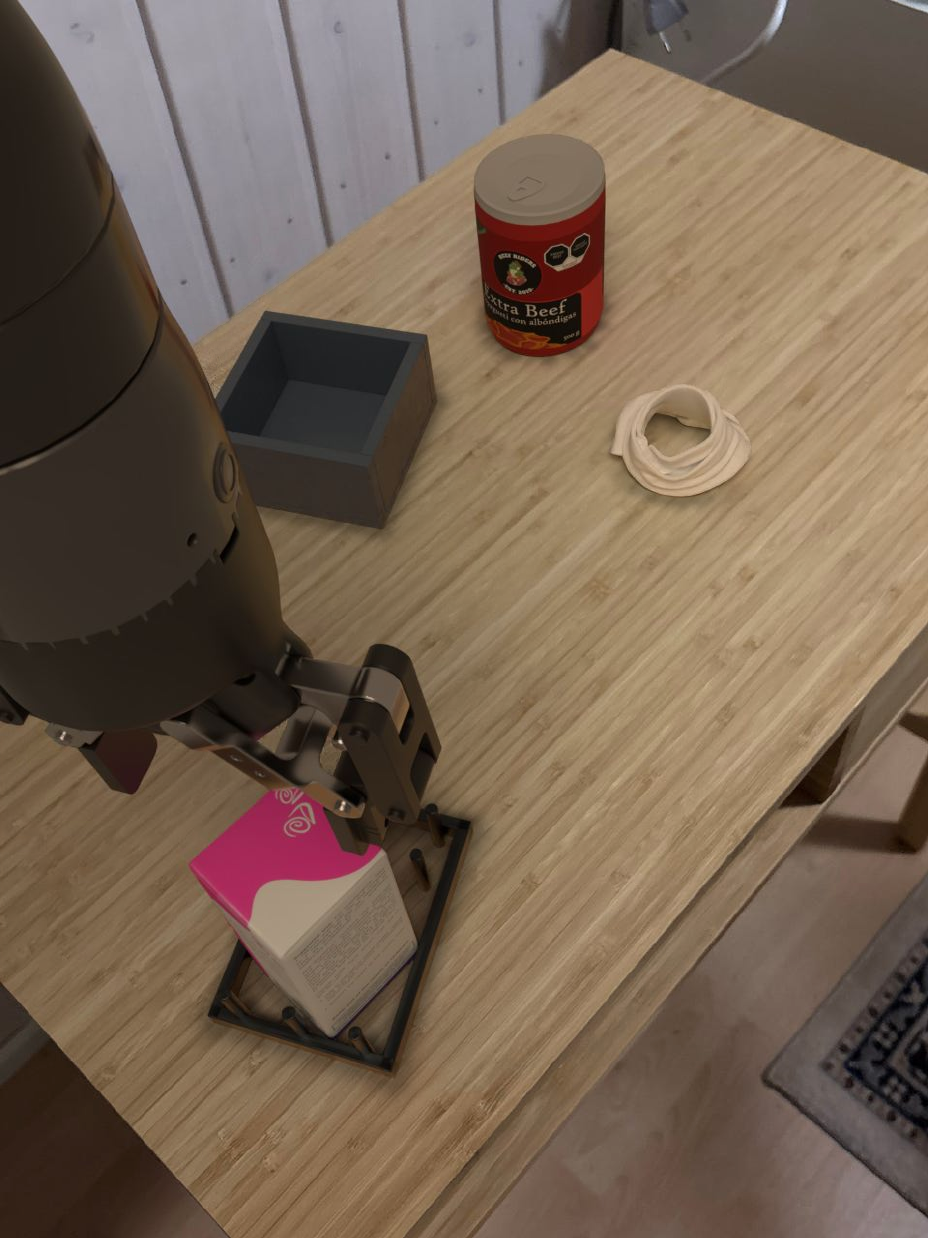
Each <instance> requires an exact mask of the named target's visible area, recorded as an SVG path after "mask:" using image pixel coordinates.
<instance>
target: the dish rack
mask: <svg viewBox="0 0 928 1238" xmlns="http://www.w3.org/2000/svg"><path fill="white" fill-rule="evenodd" d="M399 824H400V825H404V826H409V827H412V828H415V829H420V830H424V831H427V832H430V833H431V837H432V840H433V843H434V846H435V847H436V848H444V847H445V846H446V844H447V837H451V838H452V841H451V845H450V847H449V850H448V854H447V857H446V859H445V863H444V865H443V869H442V872H441V875H440V878H439V881H438V885H437V887H436V890H435V894H434V897H433V900H432V903H431V906H430V909H429V911H428V915H427V918H426V921H425V924H424V927H423V930H422V933H421V936H420V939H419V942H418V948H417V952H416V955H415V957H414V958H413V960H412V964H411V967H410V970H409V973H408V976H407V978H406V983H405V986H404V989H403V991H402V995H401V998H400V1001H399V1004H398V1007H397V1010H396V1013H395V1016H394V1019H393V1022H392V1025H391V1029H390V1031H389V1035H388V1038H387V1040H386V1044H385V1047H384V1050H383V1053H382V1054H381V1053H377V1052H376V1050H375V1049H374V1047H373V1046H372V1044H371V1042H370V1041H369V1039H368V1038H367V1036H366V1035H365V1033H364V1032H363V1030H362V1028H361V1027H359V1026H358V1025H353V1026H351V1027H350V1028H349V1029H348V1031H347V1037H348V1039H349V1040H350V1042H351V1043H352V1044H348V1043H345V1042H341V1041H339V1040H332V1039H329V1038H327V1037H326V1036H322V1035H318V1034H316V1033H314V1032H313V1031H312V1030H311V1028H310V1027H309V1026H308V1024H307V1023H306V1022H305V1020H304V1019H303V1017H301V1015H300V1014H299V1012H298V1010H296V1008H295V1007H294V1006H291V1005H287V1006H284V1007H283V1009H282V1010H281V1018H282V1019H283V1020H284V1021H285V1022H286V1024H287V1025H286V1024H283V1023H281V1022H276V1021H274V1020H270V1019H266V1018H263V1017H259V1016H256V1015H253V1013H252V1012H251V1011H250V1010H249V1009H248V1007H247V1006H246V1005H245V1004H244V1003H243V1002H242V1001H241V1000H240V998H239V997H238V994H239V992H240V989H241V988H242V985H243V983H244V980H245V978H246V975H247V973H248V970H249V967H250V965H251V962H252V960H253V958H252V956H251V955H250V953H249V952H248V950H247V949H246V948H245V946H244V945H243V944H242V942H241V941H240V939H239V938H238V939H237V942H236V944H235V947H234V949H233V951H232V953H231V956H230V959H229V961H228V964H227V966H226V968H225V971H224V973H223V976H222V978H221V981H220V983H219V985H218V988H217V989H216V992H215V995H214V997H213V999H212V1003H211V1004H210V1007H209V1009H208V1012H207V1017H208V1018H209V1019H210V1020H211V1021H212V1022H213V1023H214V1024H217V1025H221V1026H224V1027H227V1028H230V1029H233V1030H236V1031H240V1032H243V1033H247V1034H250V1035H254V1036H257V1037H260V1038H263V1039H266V1040H270V1041H272V1042H275V1043H278V1044H282V1045H285V1046H288V1047H291V1048H295V1049H299V1050H301V1051H305V1052H308V1053H312V1054H315V1055H318V1056H321V1057H324V1058H328V1059H331V1060H334V1061H337V1062H340V1063H344V1064H347V1065H350V1066H353V1067H357V1068H360V1069H364V1070H366V1071H369V1072H373V1073H376V1074H378V1075H379V1074H380V1075H382V1076H386V1077H389V1078H392V1079H395V1078H396V1076H397V1072H398V1070H399V1066H400V1063H401V1060H402V1057H403V1054H404V1051H405V1048H406V1044H407V1041H408V1039H409V1035H410V1032H411V1029H412V1026H413V1022H414V1020H415V1016H416V1013H417V1010H418V1006H419V1003H420V1000H421V998H422V994H423V991H424V988H425V986H426V982H427V978H428V975H429V973H430V970H431V966H432V962H433V960H434V957H435V953H436V950H437V947H438V944H439V941H440V938H441V935H442V931H443V929H444V925H445V922H446V918H447V915H448V912H449V909H450V906H451V903H452V899H453V897H454V893H455V890H456V887H457V884H458V880H459V878H460V875H461V871H462V868H463V865H464V861H465V860H466V855H467V852H468V849H469V847H470V843H471V840H472V837H473V834H474V827H473V822H472V820H468V819H465V818H459V817H455V816H452V815H448V814H444V813H440V810H439V807H438V805H437V804H436V803H433V802H429V803H428V804H426V806H425V808H424V809H423V808H421V809H420V812H419V815H418V818H417V821H416V823H414V824H402V823H399ZM389 828H390V824H389V825H388V828H387V831H389ZM446 836H447V837H446ZM409 860H410V863H411V865H412V868H413V871H414V874H415V878H416V881H417V884H418V885H419V889H420V890H421V891H422V892H425V893H426V892H427V893H428V892H429V891H430V890H431V889H432V887H433V883H432V879H431V876H430V874H429V870H428V866H427V864H426V863H427V862H426V860H425V857H424V853H423V851H422V850H421V849H420V848H418V847H417V848H413V849H411V850H410V852H409Z"/></svg>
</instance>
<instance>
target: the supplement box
mask: <svg viewBox="0 0 928 1238" xmlns="http://www.w3.org/2000/svg"><path fill="white" fill-rule="evenodd" d="M323 807H324V806H323V805H321V804H320V803H318V802H317V801H315V800H314V799H312V798H311V797H309V796H308V795H306V794H305V793H303V792H302V791H300V790H299V789H297V788H296V789H288V790H280V791H272V790H269V789H268V791H267V792H266V793H264V795H263V796H262V797H261V798H259V800H258V801H256V802H255V803H254V805H252V806H251V807H250V808H249V809H247V811H246V812H245V813H244V814H242V815H241V816H240V817H238V819H237V820H236V821H235V822H234V823H232V824H231V825H230V826H229V827H228V828H226V829H225V830H224V831H223V832H222V833H221V834H219V836H217V838H215V839H214V840H213V841H212V842H211V843H210V844H209V845H207V846H206V847H205V848H204V849H203V850H202V851H200V853H198V854H197V855H196V856H195V857H193V859H192V860H190V861H189V862H188V867H189V869H190V870H191V872H192V873H193V875H194V876H195V878H196V879H197V881H198V882H199V884H200V886H201V887H202V888H203V889H204V891H205V892H206V894H207V895H208V896H209V898H210V899H211V901H212V902H213V903H214V905H215V906H216V908H217V909H218V910H219V912H220V913H221V914H222V916H223V917H224V919H225V921H226V922H227V923H228V925H229V926H230V927H231V929H232V931H233V932H234V934H235V935H236V936H237V938H238V939H240V941H241V942H242V944H243V945H244V946H245V948H246V949H247V950H248V952H249V953H250V955H251V956H252V960H253V961H254V963H255V964H256V965H257V967H258V968H259V969H260V970H261V971H262V972H263V973H264V975H265V976H266V977H267V978H268V979H269V980H270V981H271V983H273V984H274V985H275V987H277V988H278V990H279V991H280V992H282V993H283V995H284V996H285V997H286V998H287V999H288V1000H289V1001H290V1002H291V1003H292V1004H293V1005H294V1007H296V1008H297V1009H298V1010H299V1011H300V1012H301V1013H302V1014H303V1015H304V1016H305V1017H306V1018H307V1019H308V1020H309V1021H310V1022H311V1024H312V1025H314V1026H315V1028H317V1030H319V1031H320V1032H321V1033H322V1034H323V1035H324V1037H326V1038H329V1039H332V1040H335V1041H337V1039H338V1038H339V1037H340V1036H341V1035H342V1034H343V1033H344V1032H345V1031H346V1030H347V1029H348V1028H349V1026H351V1025H352V1024H353V1023H354V1021H355V1020H356V1019H357V1018H358V1017H359V1016H360V1015H361V1014H362V1013H363V1012H364V1010H366V1009H367V1007H368V1006H370V1004H371V1003H372V1002H373V1001H374V1000H375V999H376V998H377V997H378V996H379V995H380V994H381V993H382V992H383V991H384V990H385V989H386V988H387V987H388V985H390V983H392V982H393V981H394V980H395V979H396V978H397V977H398V975H399V974H401V973H402V971H403V970H404V969H405V968H406V967H407V966H408V965H409V964H410V963H411V962H413V960H414V958H415V955H416V952H417V948H418V945H419V942H418V940H417V938H416V935H415V931H414V929H413V925H412V923H411V920H410V917H409V914H408V912H407V909H406V906H405V903H404V900H403V897H402V895H401V892H400V888H399V885H398V883H397V881H396V878H395V877H396V876H395V874H394V872H393V869H392V866H391V862H390V860H389V857H388V854H387V851H385V849H384V848H382V846H381V845H380V846H376V845H372V844H370V845H369V847H368V850H367V852H366V854H365V855H364V856H360V855H356V854H352V853H348V852H344V851H342V850H341V848H340V845H339V843H338V841H337V839H336V837H335V835H334V833H333V831H332V829H331V826H330V824H329V822H328V820H327V818H326V816H325V814H324V812H323Z"/></svg>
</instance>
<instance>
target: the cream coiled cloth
mask: <svg viewBox="0 0 928 1238" xmlns="http://www.w3.org/2000/svg"><path fill="white" fill-rule="evenodd" d="M655 414H659V415H665V416H670V417H673V418H676V419H677V420H678V421H679V422H680V423H681V424H682V425H684V426H687V427H693V428H700V429H705V430H710V434H709V435H708V437H707V438H706V439H705V440H703V441H701V442H700V443H698V444H696V445H694V446H692V447H690V448H688V449H686V450H684V451H682V452H680V453H678V454H676V455H673V456H667V455H664V454H663V453H662V452H661V451H660V450H659V449H658V448H657V447H656V446H655V445H654V444H651V443H650V444H649V445H648V443H649V442H648V439H647V437H646V436H645V433H646V432H645V431H646V428H647V426H648V423H649V422H650V420H651V419H652V417H653V416H654V415H655ZM609 453H610V454H612V455H614V456H617V457H622V460H623V462H624V465H625V466H626V468H627V470H628V472H629V473H630V474H631V476H632V477H633V478H634V479H635V480H636V481H637V482H638V483H639V484H640V485H641V486H643V488H646V489H647V490H649V491H652V492H654V493H657V494H660V495H663V496H670V497H691V496H696V495H698V494H702V493H705V492H707V491H709V490H712V489H714V488H717V487H718V486H720V485H722V484H724V483H725V482H727V481H729V480H730V479H731V478H733V477H734V476H735V475H736V474H738V472H739V471H740V470H741V469H742V468H743V467H744V465H745V464H746V463H747V462H748V460H749V458H750V456H751V453H752V442H751V441H750V438H749V435H748V434H747V432H746V431H745V430H744V429H743V427H742V424H741V422H740V420H739V419H738V418H737V417H736V416H734V415H733V414H732V413H730V412H729V411H727V410H726V409H724V408H722V405H721V403H720V402H719V400H718V398H717V397H716V396H715V395H714V394H713V393H712V392H710V391H708V390H707V389H704V388H700V387H699V386H696V385H693V384H689V383H677V384H670V385H668V386H665V387H662V388H660V389H659V390H652V391H647V392H645V393H642V394H639V395H637V396H635V397H634V398H631V399H630V400H628V401H627V402H626V404H625V405H624V406H623V408H622V410H621V411H620V413H619V414H618V417H617V419H616V422H615V433H614V438H613V440H612V443H611V446H610V450H609Z"/></svg>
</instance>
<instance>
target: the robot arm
mask: <svg viewBox="0 0 928 1238" xmlns="http://www.w3.org/2000/svg"><path fill="white" fill-rule="evenodd" d="M75 89H76V88H75V87H74V85H73V84H72V82H71V80H70V78H69V77H68V75H67V72H66V71H65V69H64V67H63V66H62V64H61V62H60V61H59V59H58V58H57V56H56V53H55V52H54V51H53V49H52V47H51V46H50V44H49V42H48V40H47V39H46V38H45V36H44V35H43V34H42V32H41V31H40V29H39V28H38V26H37V25H36V24H35V22H34V20H33V19H32V18H31V16H30V15H29V13H28V11H26V10H25V7H23V5H22V3H21V2H20V1H19V0H0V722H1V723H3V724H6V725H13V726H17V727H19V726H21V727H22V726H24V725H25V723H26V721H27V719H28V718H29V716H31V717H34V718H37V719H39V720H41V721H44V722H46V723H48V724H47V726H46V728H45V729H44V732H45V733H46V735H47V736H48V737H50V738H51V739H53V741H54V742H55V743H57V744H59V745H61V746H64V747H70V748H75V749H77V750H78V751H79V752H80V753H81V755H82V757H84V758H85V760H86V761H87V762H88V764H89V765H90V766H91V767H92V768H93V769H94V771H95V772H96V773H97V774H98V776H99V777H100V778H101V779H102V780H103V781H104V782H105V784H106V785H107V786H108V788H109V789H110V790H111V791H114V792H119V793H122V794H126V795H128V796H132V795H134V794H136V793H137V792H138V790H139V788H140V787H141V785H142V782H143V780H144V778H145V777H146V775H147V773H148V771H149V768H150V766H151V764H152V762H153V760H154V758H155V756H156V754H157V750H158V739H157V737H156V735H160V736H166V737H171V738H173V739H174V740H176V741H178V742H179V743H180V744H181V745H183V746H185V747H186V748H188V749H189V750H192V751H194V752H195V751H196V752H202V751H209V752H210V753H212V754H213V755H214V756H216V757H218V758H220V759H222V761H224V762H226V763H227V764H229V765H230V766H232V767H233V768H235V769H237V770H238V771H239V772H241V773H243V774H244V775H245V776H247V777H249V778H250V779H252V780H254V782H257V783H258V784H260V785H261V786H263V787H264V788H266V789H268V791H269V790H272V791H280V790H288V789H296V788H297V789H299V790H300V791H302V792H303V793H305V794H306V795H308V796H309V797H311V798H312V799H314V800H315V801H317V802H318V803H320V804H321V805H323V806H324V807H323V812H324V814H325V816H326V818H327V820H328V822H329V824H330V826H331V829H332V831H333V833H334V835H335V837H336V839H337V841H338V843H339V845H340V848H341V850H342V851H344V852H348V853H352V854H356V855H360V856H364V855H365V854H366V852H367V850H368V847H369V845H370V844H372V845H376V846H380V847H381V844H382V843H383V841H384V839H385V836H386V834H387V832H388V830H387V828H388V825H389V826H390V823H391V822H393V823H395V824H400V823H402V824H401V825H404V824H414V823H416V821H417V818H418V815H419V812H420V809H422V801H423V798H424V795H425V792H426V789H427V787H428V784H429V781H430V777H431V776H432V772H433V770H434V767H435V765H436V764H437V763H438V760H439V757H440V755H441V752H442V748H443V747H442V744H441V740H440V738H439V735H438V732H437V730H436V726H435V724H434V720H433V718H432V715H431V712H430V710H429V706H428V704H427V701H426V698H425V696H424V693H423V689H422V687H421V684H420V682H419V678H418V675H417V673H416V670H415V667H414V664H413V661H412V659H411V657H410V656H409V654H407V653H406V652H405V651H403V650H402V649H400V648H399V647H396V646H394V645H390V644H386V643H374V644H372V645H370V646H369V647H368V649H367V651H366V654H365V657H364V659H363V661H362V664H361V667H360V666H354V665H349V664H344V663H340V662H339V663H338V662H333V661H328V660H323V659H316V658H314V654H313V652H312V650H311V648H310V647H309V645H308V644H307V643H306V642H305V641H304V640H303V639H302V638H301V637H299V635H297V634H296V633H295V632H294V631H293V630H292V629H291V628H290V627H289V626H288V625H287V623H286V622H285V620H284V618H283V612H282V603H281V590H280V580H279V570H278V565H277V561H276V556H275V553H274V550H273V547H272V544H271V542H270V539H269V537H268V534H267V531H266V527H265V526H264V524H263V521H262V518H261V515H260V513H259V511H258V508H257V505H255V502H254V500H253V497H252V495H251V492H250V490H249V487H248V484H247V482H246V479H245V476H244V474H243V471H242V468H241V466H240V463H239V461H238V458H237V455H236V453H235V450H234V448H233V445H232V442H231V440H230V437H229V435H228V432H227V429H226V427H225V424H224V422H223V419H222V416H221V414H220V411H219V409H218V406H217V403H216V401H215V398H216V397H215V396H214V394H213V390H212V388H211V386H210V383H209V381H208V378H207V376H206V375H205V372H204V369H203V367H202V364H201V363H200V360H199V358H198V356H197V353H196V352H195V350H194V347H193V346H192V344H191V342H190V341H189V339H188V337H187V335H186V333H185V332H184V330H183V329H182V328H181V326H180V324H179V323H178V320H177V319H176V317H175V316H174V315H173V313H172V311H171V309H170V307H169V306H168V304H167V302H166V300H165V299H164V297H163V295H162V293H161V290H160V289H159V285H158V284H157V281H156V279H155V276H154V273H153V271H152V269H151V266H150V264H149V261H148V259H147V256H146V254H145V251H144V249H143V246H142V243H141V241H140V239H139V235H138V233H137V231H136V228H135V225H134V223H133V221H132V217H131V215H130V213H129V211H128V208H127V206H126V204H125V200H124V197H123V196H122V192H121V191H120V188H119V185H118V183H117V181H116V178H115V176H114V173H113V171H112V169H111V165H110V163H109V161H108V159H107V155H106V152H105V150H104V148H103V146H102V143H101V142H100V139H99V137H98V135H97V133H96V130H95V129H94V126H93V124H92V122H91V119H90V117H89V115H88V113H87V110H86V108H85V106H84V104H83V103H82V100H81V99H80V97H79V95H78V93H77V91H76V90H75ZM286 721H287V723H286V725H285V727H284V729H283V732H282V734H281V736H280V739H279V741H278V744H277V745H276V748H275V750H274V751H273V750H271V749H269V748H268V747H267V746H265V745H264V744H262V743H261V742H260V741H259V740H261V739H262V738H264V737H265V736H267V735H268V734H269V733H271V732H272V731H273V730H274V729H276V728H277V727H279V726H280V725H282V723H284V722H286ZM155 734H156V735H155ZM328 738H330V739H331V742H330V743H331V745H332V747H333V748H334V749H336V750H338V751H341V753H340V756H339V758H338V760H337V763H336V766H335V768H334V771H333V773H331V772H330V771H328V770H327V769H325V768H324V767H323V766H322V764H321V759H320V758H321V754H322V751H323V749H324V747H325V744H326V742H327V739H328Z"/></svg>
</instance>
